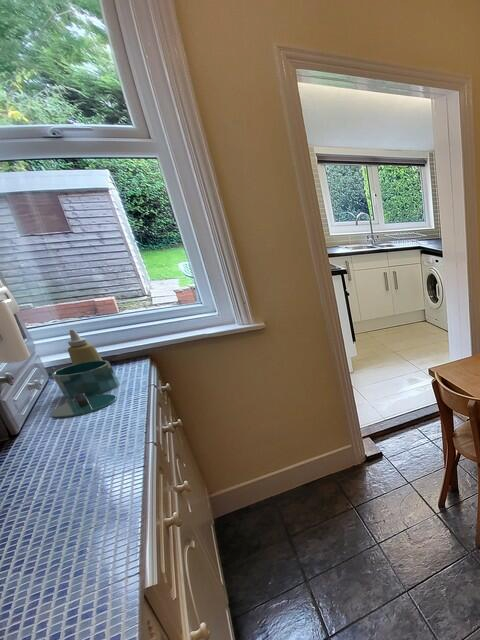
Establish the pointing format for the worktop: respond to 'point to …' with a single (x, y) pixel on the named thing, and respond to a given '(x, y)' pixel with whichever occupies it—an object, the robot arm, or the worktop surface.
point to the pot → (86, 378)
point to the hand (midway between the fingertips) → (4, 338)
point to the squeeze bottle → (81, 349)
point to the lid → (83, 405)
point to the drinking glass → (11, 337)
